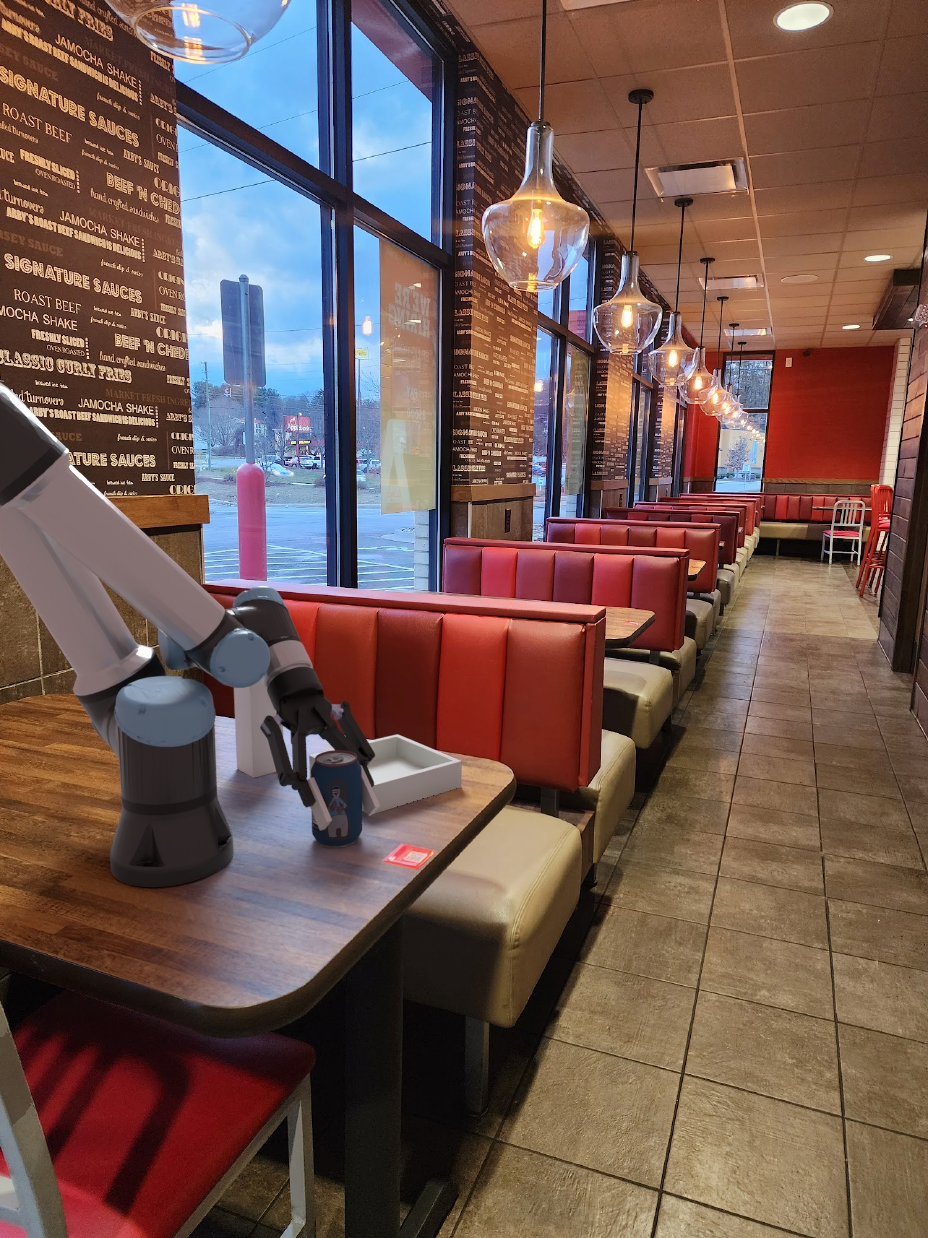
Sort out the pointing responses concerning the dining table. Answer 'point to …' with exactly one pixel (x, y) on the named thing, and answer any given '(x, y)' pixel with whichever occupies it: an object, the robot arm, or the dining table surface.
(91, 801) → the dining table surface
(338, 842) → the soda can
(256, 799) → the dining table surface
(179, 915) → the dining table surface
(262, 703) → the milk
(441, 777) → the box
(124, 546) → the robot arm
